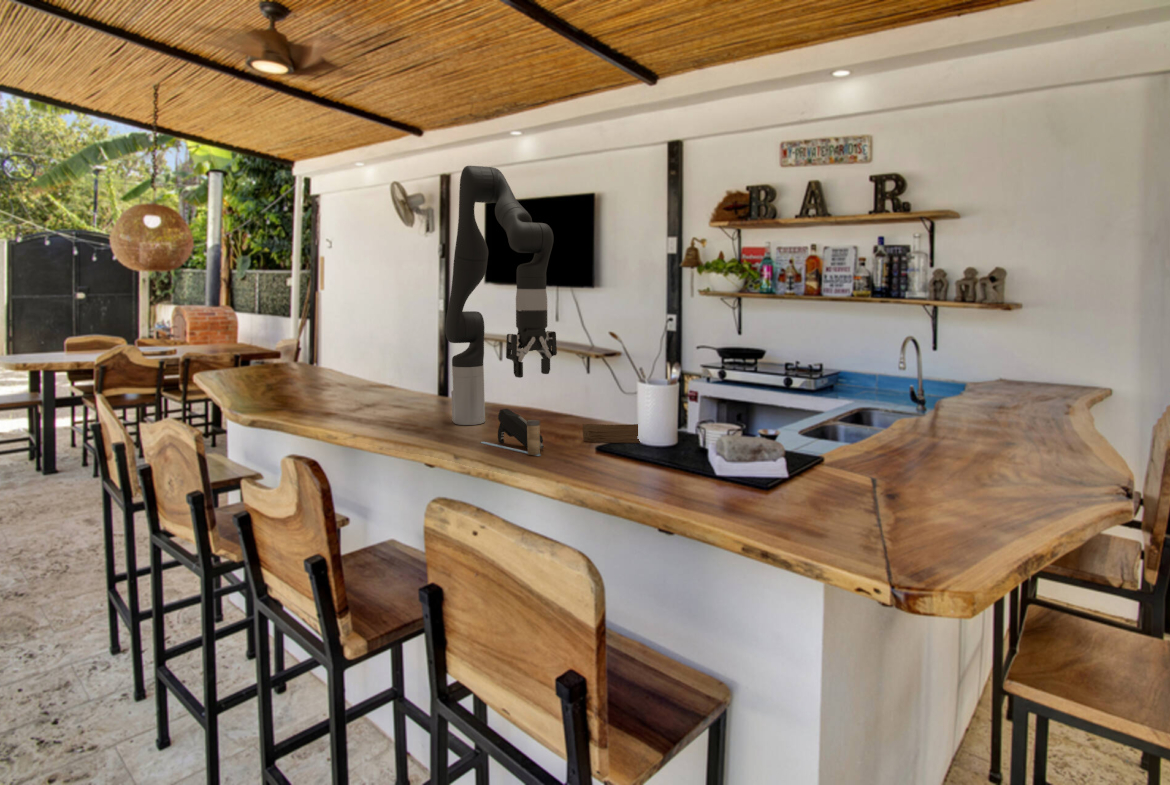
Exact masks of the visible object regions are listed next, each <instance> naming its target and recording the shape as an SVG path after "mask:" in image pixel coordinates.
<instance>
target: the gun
mask: <svg viewBox="0 0 1170 785" xmlns="http://www.w3.org/2000/svg"><path fill="white" fill-rule="evenodd" d="M497 419H498V422H499V426H498V429H497V439H498V443H499V444H500V445H501V444H504V443H505V440H504V438H505V434H506V435H507V436H508V437H511V438H515V439H516V440H517V441H518V442H519V443H520V444H521V445H522V446H524V447H525V448H526V449H527V450H528V446H527V421H528V420H526V419H525V418H523V417H522V416H521V415H519V414H517V413H516V412H515V411H512V410H510V409H508V408H502V409H500V410H499V413H498V416H497ZM543 442H544V439H543V436H542V435H541V434H540V450H542V449H544V446H545V445H544V444H543Z"/></svg>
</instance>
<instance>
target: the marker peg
mask: <svg viewBox="0 0 1170 785" xmlns="http://www.w3.org/2000/svg"><path fill="white" fill-rule="evenodd" d="M526 421H527V446H528V449H527V452H528V454H527V455H529V456H535V455H539V454H540V455H541V448H540V435H541V432H540V431H541V429H540V428H541V426H540V424H541V423H540V422H541V421H540V420H539V419H528V420H526Z"/></svg>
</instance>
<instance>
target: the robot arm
mask: <svg viewBox="0 0 1170 785" xmlns="http://www.w3.org/2000/svg"><path fill="white" fill-rule="evenodd" d="M512 190H513V189H511V186H510V185H509V183H508V181H507V179H506V177H505V176H504V174H503V173H502V171H501V170H499V169H498V168H496V167H493V166H483V165H466V166H464V167H463V169H462V171H461V174H460V179H459V190H458V192H459V196H458V221H457V223H458V224H457V230H456V231H457V233H456V240H455V248H454V255H453V267H452V268H453V269H452V277H451V278H452V281H451V290H450V296H449V301H448V305H447V306H448V307H447V312H446V317H445V324H444V325H445V327H444V331H445V332H444V333H445V336H446V340H447V341H448V342H449V343H451V344H467V343H469V345H468V347H467V348H466V349H465V350H463V351H462V352H460V353H458V354H455V355H454V356H453V357H452V358H451V369H452V370H451V372H452V374H451V375H452V391H451V417H452V418H451V420H452V422H453V424H455V425H459V426H472V425H473V426H474V425H480V424H483V423H486V414H485V413H486V411H485V410H486V405H485V404H486V403H485V400H486V399H485V374H484V373H485V372H484V371H485V370H484V358H485V321H484V317H483V314H482V313H481V312H479V311H473V310H471V311H465V310H464V308H465V304H466V302H467V300H468V299H469V297H470V296H471V294H473V291H474V290H476V288H477V287H478V286H479V285H480V283H481V282H482V281H483V279H484V277H485V275H486V272H487V267H488V261H489V260H488V259H489V248H488V245H487V242H486V240H485V238H484V235H483V234H482V232H481V230H480V228H479V226H478V224H477V220H476V216H475V215H476V214H475V206H476V205H475V204H476V203H480V204H482V203H483V204H492V203H493V204H494V203H495V206H494V215H495V218H496V220H497V222H498V224H500V226H501V227H502V229H503V230H504V231H505V233H506V237H507V241H508V244H509V247H510V249H512V250H513V251H514V252H516V253H520V254H533V257H532V260H531V261H529V262H525V263H521V264H519V265H517V268H516V295H515V327H516V329H517V334H515V333H507V334H506V341H505V342H506V346H505V347H506V350H505V359H507V360H510V361H512V363H513V376H514V377H515V378H519V379H521V378H523V377H524V361H523V359H524V357H525V356H526V355H527V354H528V353H529V352H534V351H536V352H538V353H539V355H540V358H541V359H540V367H541V368H540V372H541V374H542V375H549V374H550V371H551V359H552V357H553V356H554V357H555V356H557V354H558V350H557V346H558V345H557V333H556V331H555V330H554V331H553V330H551V331H550V330H547V331H546V328H547V327H548V294H547V293H548V292H547V271H548V270H547V269H548V265H549V260H550V256H551V253H552V249H553V246H554V238H555V237H554V232H553V229H552V228H551V227H550V225H548V224H547V223H543V222H533V220H532V219H533V218H532V216H531V214H530V213H529V212H528V211H527V210H526V208H524V207H523V206H522V205H521V203H519V200H517V199H516V196H515V194H514V193H513V191H512Z"/></svg>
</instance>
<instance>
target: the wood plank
mask: <svg viewBox="0 0 1170 785" xmlns="http://www.w3.org/2000/svg"><path fill="white" fill-rule="evenodd" d="M638 424H639V423H636V424H635V423H634V424H599V423H598V424H597V423H583V424H582V437H583V440H582V441H585V442H593V443H594V442H596V443H608V444H609V443H611V444H617V443H618V444H620V443H621V444H641V443H640V441H639V439H637V436H638Z"/></svg>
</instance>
